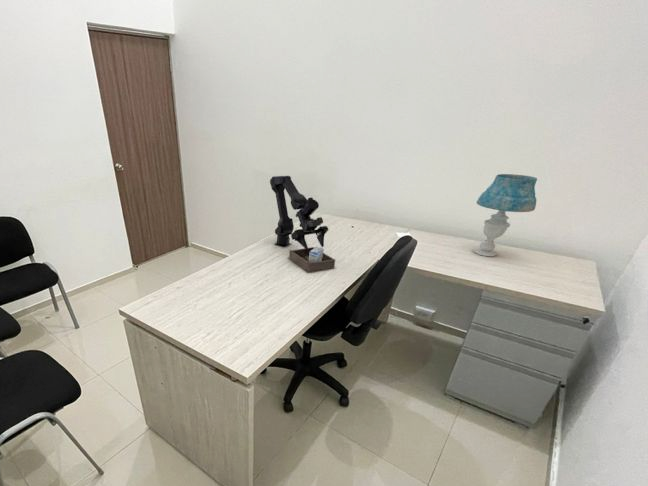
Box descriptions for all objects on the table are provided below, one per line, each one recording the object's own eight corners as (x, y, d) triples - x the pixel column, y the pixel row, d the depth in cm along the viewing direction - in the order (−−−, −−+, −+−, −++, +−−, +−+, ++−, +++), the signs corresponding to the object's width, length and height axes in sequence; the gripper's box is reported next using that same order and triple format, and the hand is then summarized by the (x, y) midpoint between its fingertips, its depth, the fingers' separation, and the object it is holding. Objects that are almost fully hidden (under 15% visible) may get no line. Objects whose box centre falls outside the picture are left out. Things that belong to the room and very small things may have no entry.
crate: (288, 258, 174) (289, 250, 171) (312, 254, 178) (313, 246, 176) (308, 272, 158) (309, 264, 156) (333, 268, 163) (335, 259, 161)
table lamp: (463, 258, 173) (494, 179, 153) (455, 243, 192) (481, 171, 173) (518, 264, 166) (557, 182, 146) (504, 248, 185) (537, 174, 165)
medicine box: (313, 262, 169) (315, 246, 165) (321, 264, 167) (324, 248, 163) (307, 267, 164) (309, 251, 160) (315, 269, 162) (317, 253, 157)
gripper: (296, 213, 155) (306, 243, 152) (329, 209, 161) (339, 238, 158) (286, 225, 166) (296, 253, 162) (317, 221, 171) (327, 248, 168)
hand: (315, 247), depth 162 cm, fingers open, 9 cm apart
